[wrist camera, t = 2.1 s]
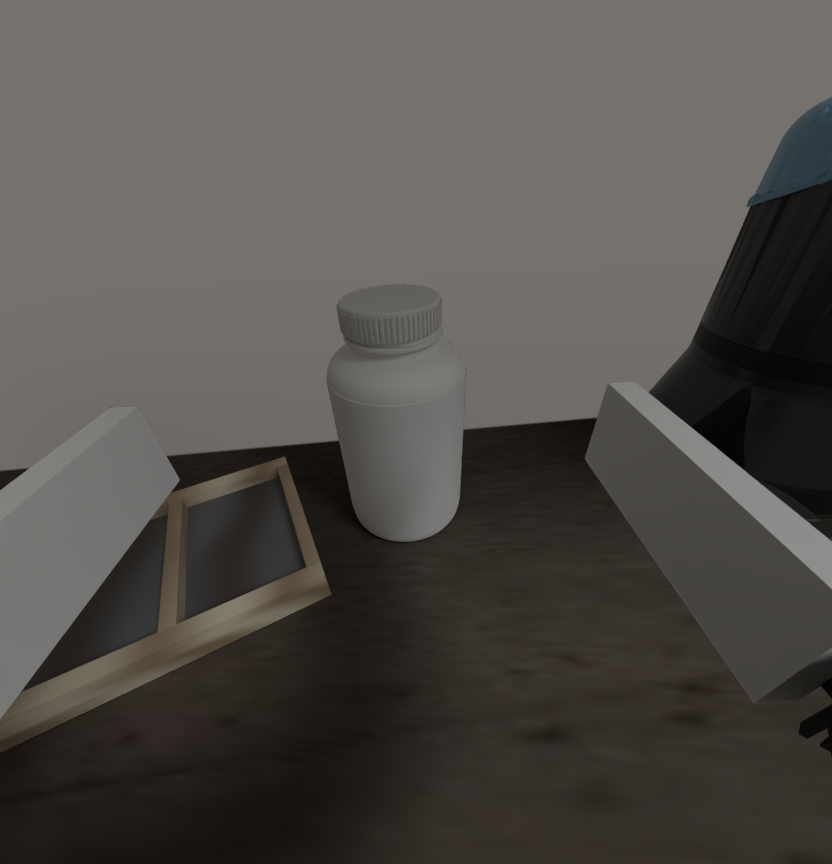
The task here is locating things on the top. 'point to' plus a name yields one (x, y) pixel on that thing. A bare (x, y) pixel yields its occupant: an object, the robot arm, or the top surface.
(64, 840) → the top surface
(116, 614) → the tray
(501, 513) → the top surface
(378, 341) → the pill bottle
